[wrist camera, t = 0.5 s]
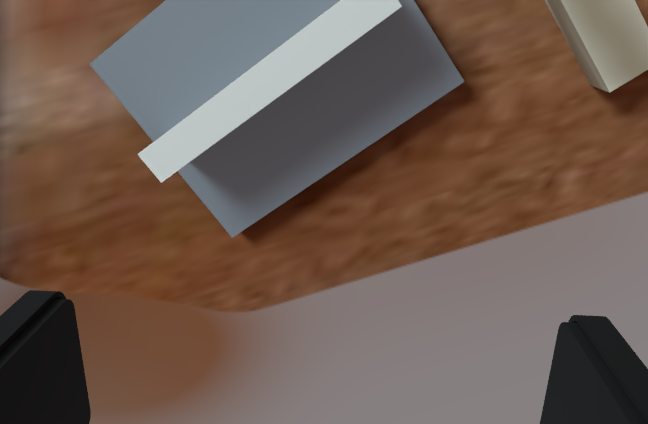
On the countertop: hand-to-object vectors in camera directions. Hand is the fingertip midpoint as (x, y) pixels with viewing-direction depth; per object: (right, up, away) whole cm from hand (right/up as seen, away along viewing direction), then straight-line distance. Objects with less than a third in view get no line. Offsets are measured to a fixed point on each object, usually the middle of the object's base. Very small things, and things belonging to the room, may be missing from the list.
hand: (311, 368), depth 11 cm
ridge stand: (-2, +12, +25) cm, 28 cm away
